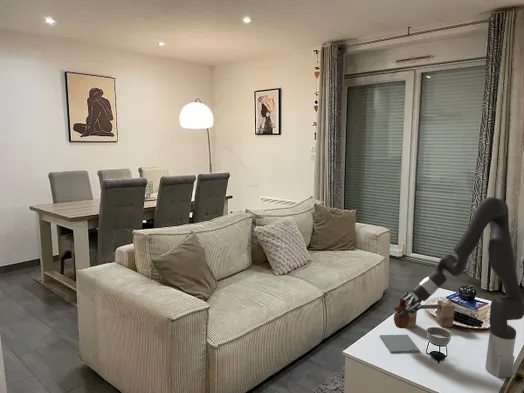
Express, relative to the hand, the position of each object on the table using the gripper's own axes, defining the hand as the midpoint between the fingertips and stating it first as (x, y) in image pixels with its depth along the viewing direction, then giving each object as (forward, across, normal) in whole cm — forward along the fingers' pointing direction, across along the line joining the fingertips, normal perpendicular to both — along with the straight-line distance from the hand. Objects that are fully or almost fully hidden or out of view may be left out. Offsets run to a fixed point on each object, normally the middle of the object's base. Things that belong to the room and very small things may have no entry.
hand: (398, 312), depth 183 cm
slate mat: (+10, 0, +12) cm, 16 cm away
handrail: (-5, -18, +28) cm, 33 cm away
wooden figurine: (+4, 0, +6) cm, 8 cm away
